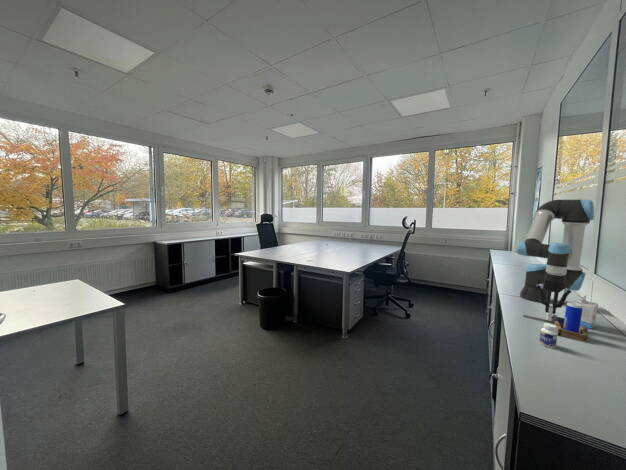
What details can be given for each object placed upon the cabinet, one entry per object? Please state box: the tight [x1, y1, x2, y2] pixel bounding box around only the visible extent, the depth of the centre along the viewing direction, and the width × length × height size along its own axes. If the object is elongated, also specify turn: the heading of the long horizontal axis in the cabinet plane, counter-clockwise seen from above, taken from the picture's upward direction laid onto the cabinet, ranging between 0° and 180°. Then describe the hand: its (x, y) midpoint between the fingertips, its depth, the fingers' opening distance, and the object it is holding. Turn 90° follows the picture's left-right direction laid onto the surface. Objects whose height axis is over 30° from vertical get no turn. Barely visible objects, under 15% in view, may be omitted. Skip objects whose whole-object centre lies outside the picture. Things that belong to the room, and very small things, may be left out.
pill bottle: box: [538, 322, 559, 349], centre depth 108 cm, size 5×5×9 cm
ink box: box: [580, 294, 599, 330], centre depth 129 cm, size 8×5×15 cm, turn 124°
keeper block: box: [522, 314, 589, 343], centre depth 124 cm, size 17×23×3 cm
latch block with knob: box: [549, 313, 565, 328], centre depth 126 cm, size 2×10×5 cm, turn 52°
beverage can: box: [562, 301, 583, 333], centre depth 118 cm, size 5×5×15 cm
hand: (549, 319), depth 130 cm, fingers closed
